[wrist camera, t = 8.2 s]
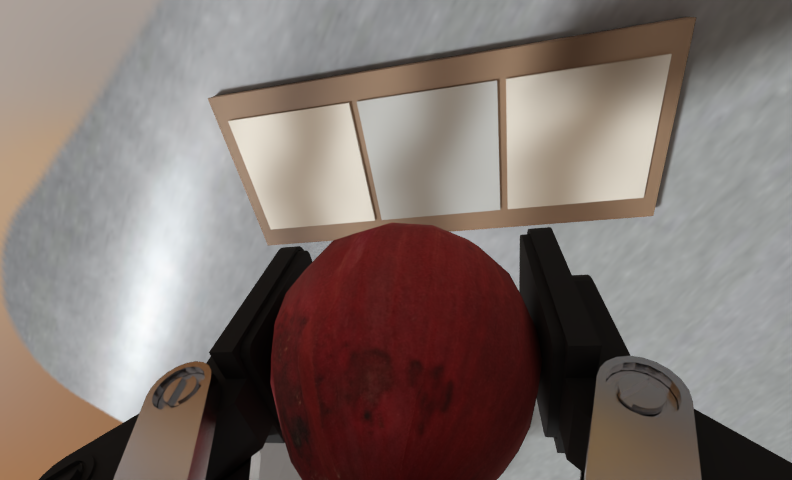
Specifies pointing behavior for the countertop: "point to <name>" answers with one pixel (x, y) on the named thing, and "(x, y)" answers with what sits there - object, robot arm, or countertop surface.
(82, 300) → the countertop surface
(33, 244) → the countertop surface
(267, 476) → the citrus juicer
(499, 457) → the onion
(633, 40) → the brown flat rectangular frame
